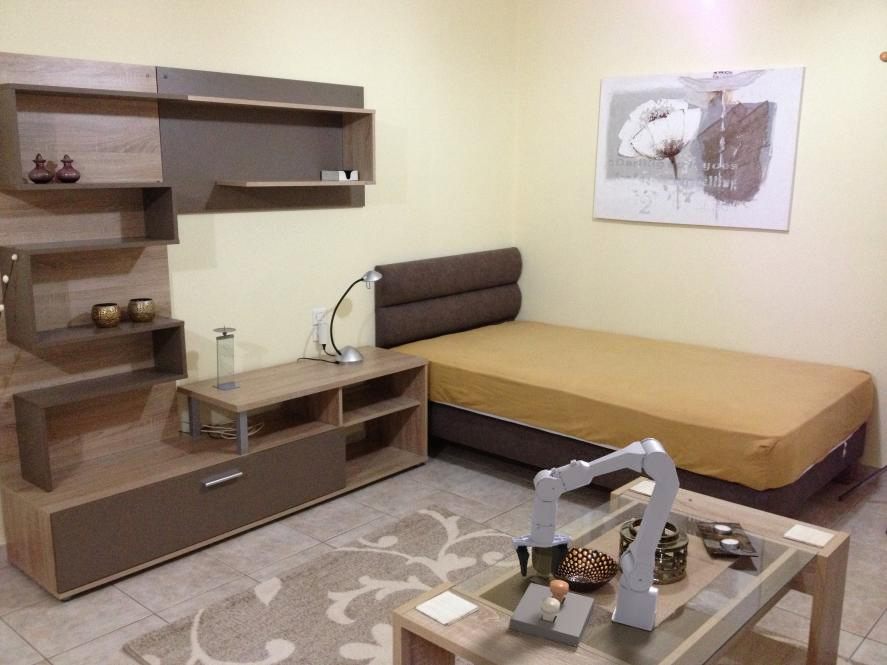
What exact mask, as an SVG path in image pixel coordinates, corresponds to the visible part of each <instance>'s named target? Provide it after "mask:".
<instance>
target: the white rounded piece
mask: <svg viewBox="0 0 887 665" xmlns="http://www.w3.org/2000/svg"><path fill="white" fill-rule="evenodd" d="M540 609H541V610H542V611H543V620H547V621H550V622H553V620H554V618H555V614H556V613H558V612H559V609H560V602H559V601H558V600H556V599H554V598H543V599H542V600H541V606H540Z"/></svg>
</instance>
